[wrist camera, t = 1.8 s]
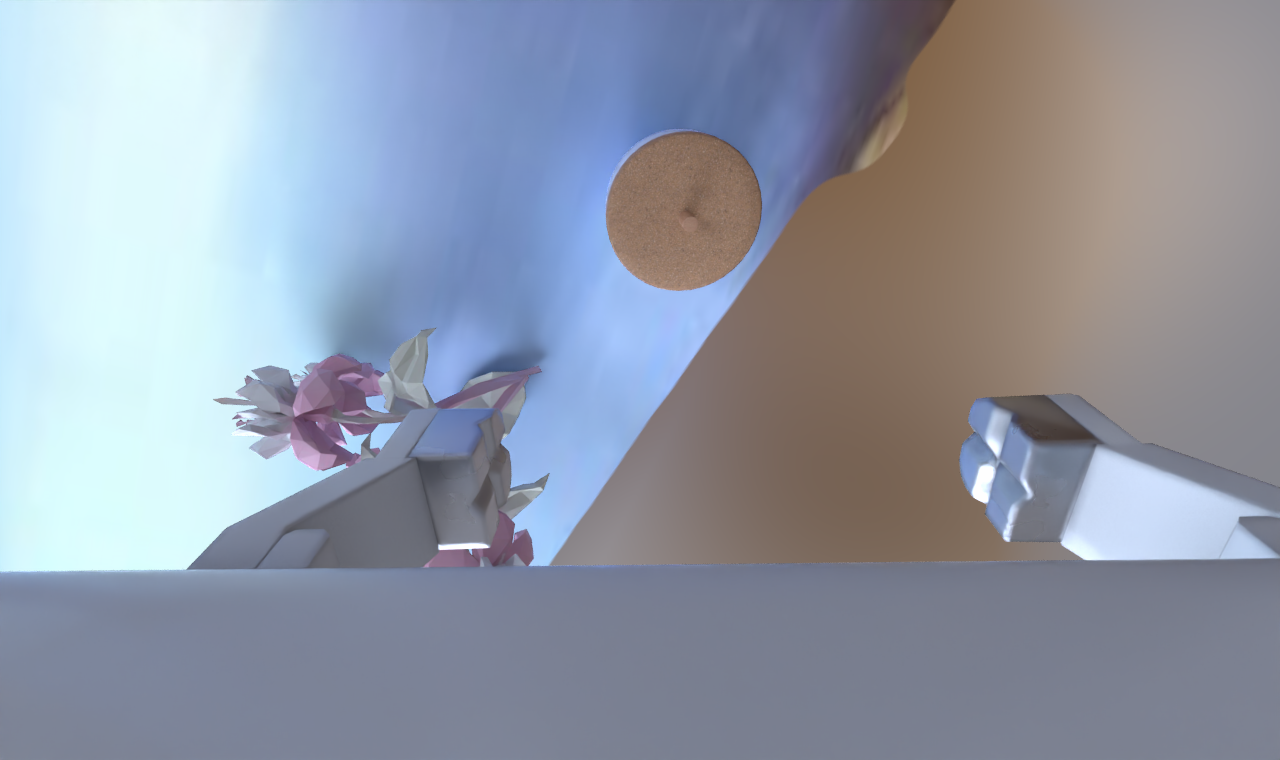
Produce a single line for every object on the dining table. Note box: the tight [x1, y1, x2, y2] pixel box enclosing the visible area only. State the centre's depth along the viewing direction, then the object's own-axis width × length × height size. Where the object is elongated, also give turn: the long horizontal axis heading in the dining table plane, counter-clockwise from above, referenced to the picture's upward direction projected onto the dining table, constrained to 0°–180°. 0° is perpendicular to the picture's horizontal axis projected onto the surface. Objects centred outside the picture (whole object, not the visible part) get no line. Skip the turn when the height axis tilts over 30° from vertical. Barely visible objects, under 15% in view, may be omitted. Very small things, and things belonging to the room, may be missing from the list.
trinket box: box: [605, 129, 762, 291], centre depth 43 cm, size 11×11×9 cm
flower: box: [213, 328, 549, 567], centre depth 45 cm, size 20×22×25 cm
